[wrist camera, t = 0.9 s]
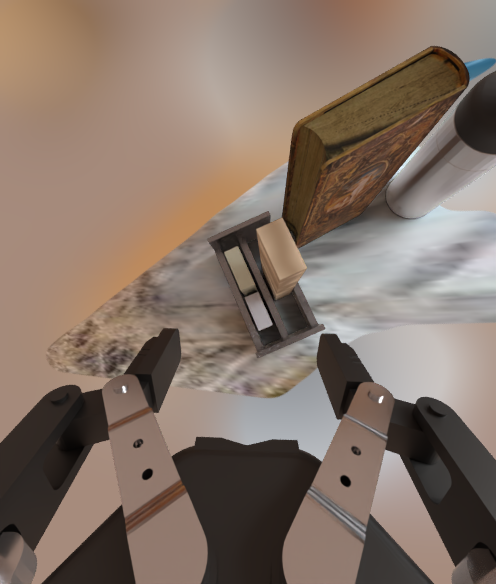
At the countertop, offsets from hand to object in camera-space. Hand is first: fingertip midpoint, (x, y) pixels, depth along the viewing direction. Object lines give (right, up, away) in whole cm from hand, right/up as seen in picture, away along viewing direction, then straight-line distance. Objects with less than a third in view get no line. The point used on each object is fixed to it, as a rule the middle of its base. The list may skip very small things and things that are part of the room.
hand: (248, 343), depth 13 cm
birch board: (+5, +5, +33) cm, 33 cm away
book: (+15, +17, +34) cm, 41 cm away
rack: (+3, +4, +33) cm, 33 cm away
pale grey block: (+2, -1, +32) cm, 32 cm away
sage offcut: (-1, +6, +33) cm, 34 cm away
